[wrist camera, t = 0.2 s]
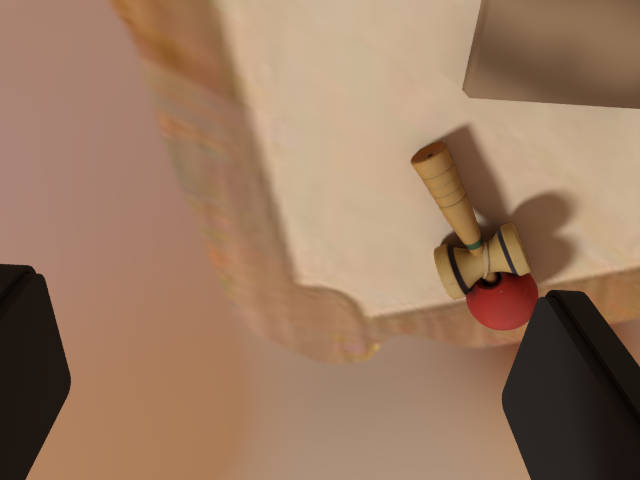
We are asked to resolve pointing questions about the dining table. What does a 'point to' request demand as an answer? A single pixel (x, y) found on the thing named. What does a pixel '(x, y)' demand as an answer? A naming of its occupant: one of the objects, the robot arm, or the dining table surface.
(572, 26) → the board
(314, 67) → the dining table surface
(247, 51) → the dining table surface
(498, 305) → the kendama
